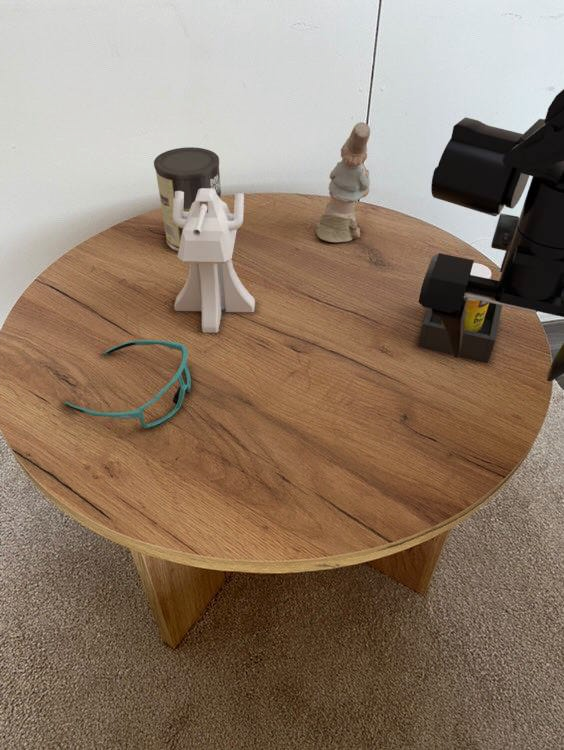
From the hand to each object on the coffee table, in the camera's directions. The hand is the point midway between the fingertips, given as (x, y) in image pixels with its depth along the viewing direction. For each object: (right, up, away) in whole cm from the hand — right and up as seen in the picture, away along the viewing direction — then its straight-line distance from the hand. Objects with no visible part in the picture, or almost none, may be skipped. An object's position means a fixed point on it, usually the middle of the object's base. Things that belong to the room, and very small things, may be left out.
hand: (501, 366), depth 59 cm
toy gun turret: (-33, +9, +28) cm, 44 cm away
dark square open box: (+3, +5, +24) cm, 25 cm away
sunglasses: (-41, -3, +16) cm, 44 cm away
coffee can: (-38, +23, +43) cm, 61 cm away
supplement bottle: (+3, +5, +24) cm, 24 cm away
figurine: (-12, +24, +44) cm, 52 cm away
